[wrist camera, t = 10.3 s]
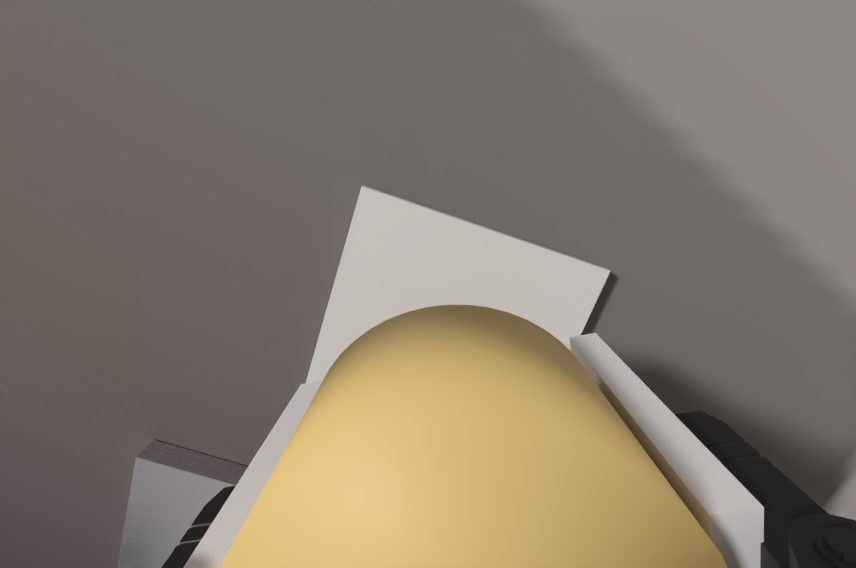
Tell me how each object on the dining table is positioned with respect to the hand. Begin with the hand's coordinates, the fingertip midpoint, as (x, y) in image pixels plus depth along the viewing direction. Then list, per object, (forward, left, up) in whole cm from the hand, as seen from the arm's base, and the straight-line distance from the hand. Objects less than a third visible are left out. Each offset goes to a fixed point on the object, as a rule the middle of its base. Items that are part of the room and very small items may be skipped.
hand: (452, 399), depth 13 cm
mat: (0, 0, -5) cm, 5 cm away
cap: (0, 0, +2) cm, 2 cm away
